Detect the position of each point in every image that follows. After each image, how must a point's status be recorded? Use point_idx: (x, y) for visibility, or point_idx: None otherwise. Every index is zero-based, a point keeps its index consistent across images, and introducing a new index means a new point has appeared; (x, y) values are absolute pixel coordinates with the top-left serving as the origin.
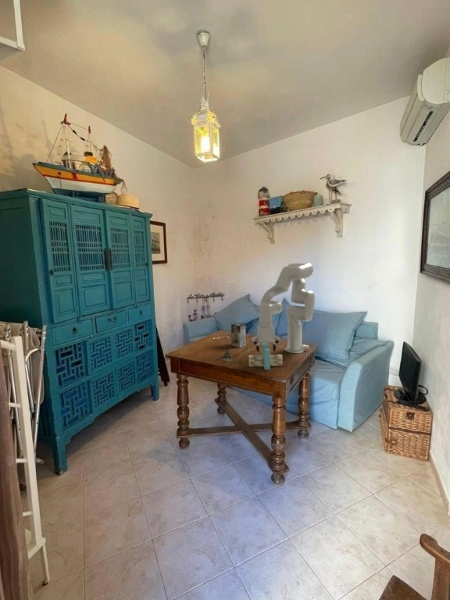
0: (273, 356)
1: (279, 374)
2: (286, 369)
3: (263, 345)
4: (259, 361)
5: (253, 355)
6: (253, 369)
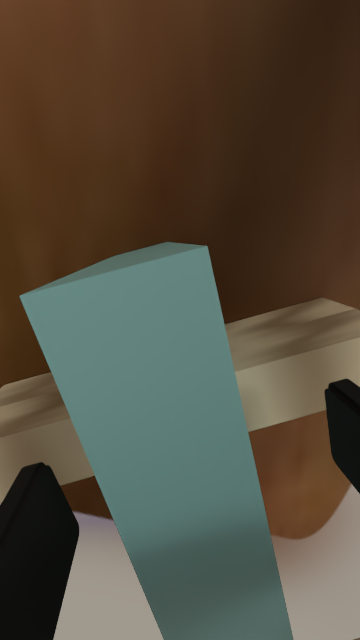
0: (288, 420)
1: (290, 505)
2: None
3: (144, 551)
4: None
5: (4, 450)
6: None
